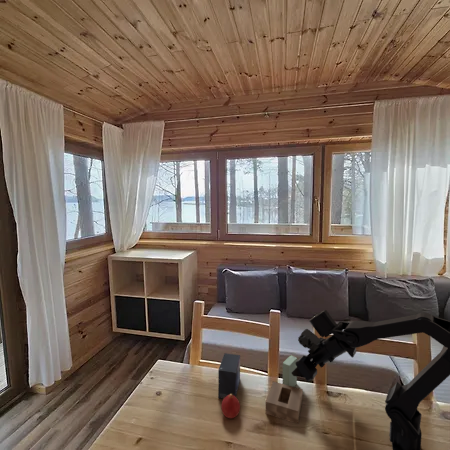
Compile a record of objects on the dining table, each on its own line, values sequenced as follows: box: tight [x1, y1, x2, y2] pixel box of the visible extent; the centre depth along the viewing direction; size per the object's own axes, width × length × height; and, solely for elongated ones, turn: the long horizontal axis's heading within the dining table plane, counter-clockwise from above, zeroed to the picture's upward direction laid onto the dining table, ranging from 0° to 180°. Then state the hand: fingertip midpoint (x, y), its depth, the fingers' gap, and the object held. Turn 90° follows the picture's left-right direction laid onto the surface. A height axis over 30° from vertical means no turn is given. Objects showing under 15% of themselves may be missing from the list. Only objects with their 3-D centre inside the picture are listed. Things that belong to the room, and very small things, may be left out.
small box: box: [217, 352, 241, 400], centre depth 96 cm, size 11×6×10 cm, turn 168°
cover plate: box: [282, 355, 298, 387], centre depth 95 cm, size 2×6×11 cm, turn 139°
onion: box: [221, 394, 241, 419], centre depth 83 cm, size 6×6×8 cm
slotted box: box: [265, 381, 304, 425], centre depth 86 cm, size 10×10×5 cm
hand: (298, 367), depth 93 cm, fingers open, 9 cm apart
